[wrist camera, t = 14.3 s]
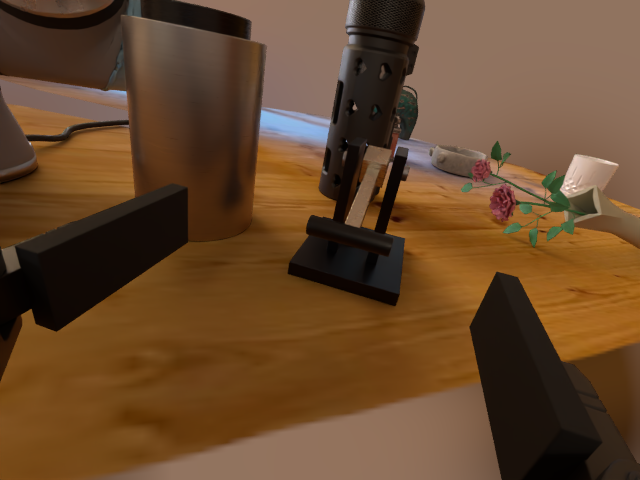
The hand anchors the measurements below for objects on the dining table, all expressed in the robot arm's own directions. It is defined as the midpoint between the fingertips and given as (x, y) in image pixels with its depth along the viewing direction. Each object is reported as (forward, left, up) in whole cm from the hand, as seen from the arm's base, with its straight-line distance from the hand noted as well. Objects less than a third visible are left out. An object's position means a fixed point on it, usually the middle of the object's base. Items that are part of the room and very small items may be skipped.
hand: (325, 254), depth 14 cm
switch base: (-18, +6, -10) cm, 21 cm away
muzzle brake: (-39, +9, -10) cm, 41 cm away
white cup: (-53, +63, -10) cm, 83 cm away
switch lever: (-14, +5, -3) cm, 15 cm away
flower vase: (-28, +40, -10) cm, 50 cm away
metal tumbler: (-24, -11, -10) cm, 28 cm away
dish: (-69, +42, -10) cm, 81 cm away
